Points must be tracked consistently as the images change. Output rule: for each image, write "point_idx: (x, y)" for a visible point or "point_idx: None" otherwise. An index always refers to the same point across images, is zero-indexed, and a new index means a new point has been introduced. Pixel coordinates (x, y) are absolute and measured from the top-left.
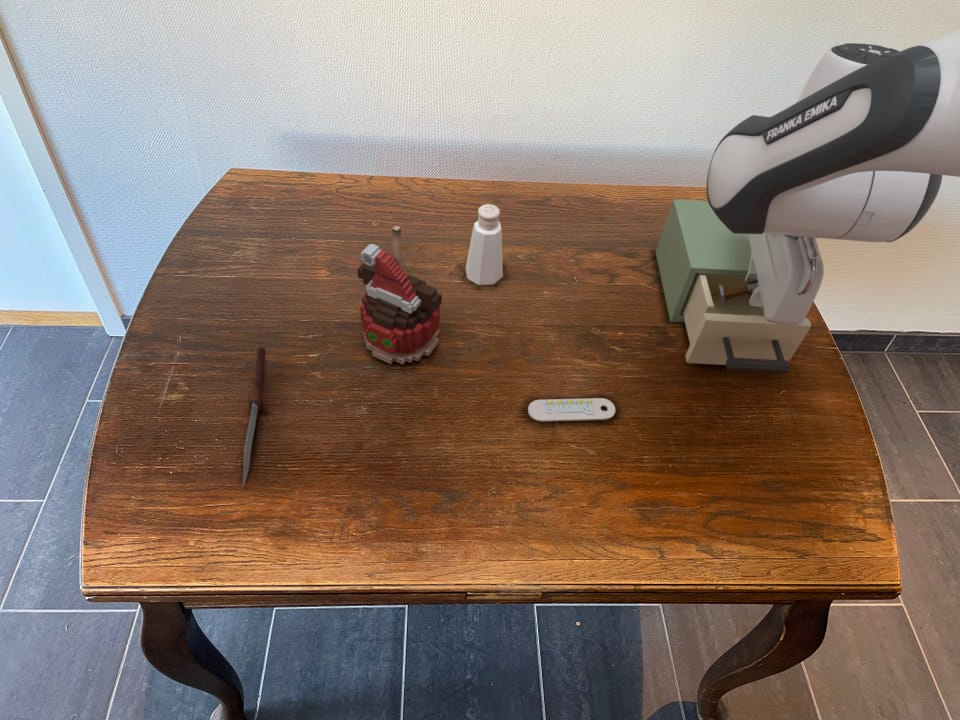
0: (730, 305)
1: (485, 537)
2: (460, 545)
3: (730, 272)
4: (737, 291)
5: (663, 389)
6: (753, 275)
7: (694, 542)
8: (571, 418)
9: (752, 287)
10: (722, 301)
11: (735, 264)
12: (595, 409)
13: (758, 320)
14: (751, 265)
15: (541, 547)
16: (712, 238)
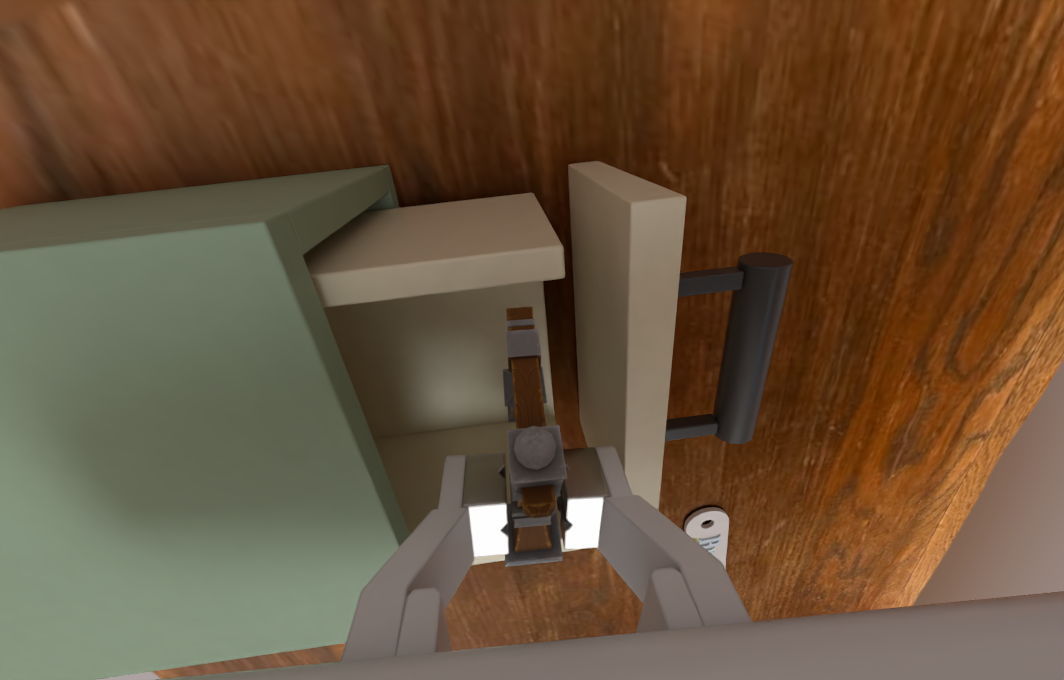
0: (378, 330)
1: (875, 594)
2: (877, 608)
3: (398, 523)
4: (542, 532)
5: None
6: (477, 543)
7: (984, 394)
8: (724, 556)
9: (570, 548)
10: (558, 523)
11: (351, 527)
12: (709, 533)
13: (651, 427)
14: (447, 601)
15: (908, 552)
16: (204, 591)
